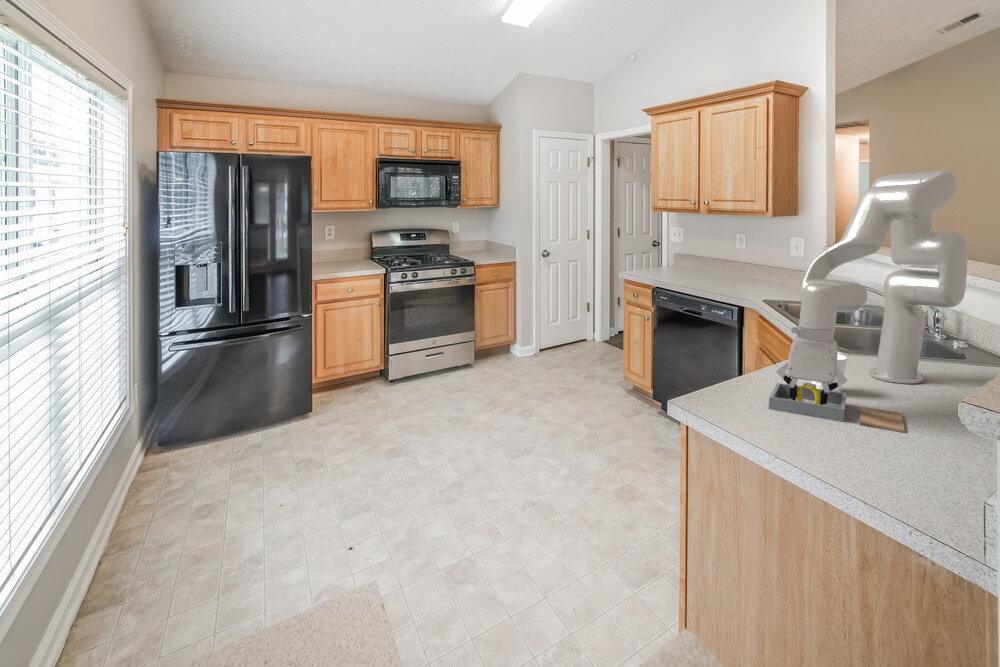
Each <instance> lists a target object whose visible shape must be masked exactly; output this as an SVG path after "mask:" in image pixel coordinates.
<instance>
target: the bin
mask: <svg viewBox="0 0 1000 667" xmlns="http://www.w3.org/2000/svg"><path fill="white" fill-rule="evenodd" d="M797 386H798V387H797V389H798V388H799V387H800V386H801V385H797ZM817 390H818V391H819V393H820V397H821V391H822V389H817ZM847 394H848V393H847V392H841V391H840V392H836V391H830V392H829V393H828V398H827V404H828V403H830V404H835V405H840V407H839V406H837V407H836V406H833V405H832V406H831V405H826V404H823V405H820V403H819V404H814V403H812V402H807V401H804V402H801V401H798V400H796V401H795V400H792V399H788V398H782V397H779V396H785V397H789V395H790V387H789V385H788V384H787V383H781V382H777V383H776V384H775V386H774V388H773V390H772V392H771V394H770V396H769V400H768V409H769V410H775V411H780V412H785V413H792V414H796V415H802V416H809V417H813V418H814V417H815V418H819V419H820V418H821V419H826V420H832V421H836V422H837V421H838V422H844V417H845V411H846V402H847ZM801 395H802V400H803V399H805V400H809V401H811V400H812V401H815V395H814V392H813V391H812V390H811V389H808V388H805V387H804V389H803V390H802V394H801ZM796 398H797V396H796Z"/></svg>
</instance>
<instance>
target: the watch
mask: <svg viewBox="0 0 1000 667" xmlns="http://www.w3.org/2000/svg"><path fill="white" fill-rule="evenodd" d="M799 386H800V387H799V388H798V389H797V395H796V396H797V397H796V401H801V402H805V401H804V400H803V398H802V395H801V394H802V390H803V389H804V387H805V388H808V389H811V390H812V391H813V392H814V395H815V400H814V403H813V404H820V398H821V397H820V393H819V391H818V390H817V388H816V385H815V384H812V382H804V383H803V384H802V385H799Z"/></svg>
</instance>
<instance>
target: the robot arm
mask: <svg viewBox="0 0 1000 667" xmlns="http://www.w3.org/2000/svg"><path fill="white" fill-rule="evenodd" d="M956 190H957V180H956V177H955V175H954V174H953V173H952V172H949V171H948V170H936V171H935V170H934V171H921V172H906V173H904V172H903V173H895V174H886V175H882V176H881V177H878V178H875V179H874V181H873V182H872V184H871V187H870V188H868V189H866V190H864V191H863V192H862V194H861V195H860V197H859V198H858V201H857V203H856V206H855V207H854V210H853V213H852V214H851V217H850V220H849V221H848V224H847V225H846V228H845V230H844V232H843V235H842V236H841V239H840V240H839V241H838V242H836V243H835V244H833V245H831V246H830V247H828V248H827V249H826V250H825V251H823V252H821V253H820V254H819V256H817V257H816V258H815V259H813V261H812V263H811V264H810V265H809V267H808V268H807V270H806V273H805V276H804V277H803V280H802V282H801V284H800V289H799V295H798V297H799V301H800V302H801V303H800V312H799V321H798V326H796V327H791V334H792V333H793V334H795V335H797V336H795V337H793V339H792V343H791V346H790V349H789V355H788V360H787V362H786V363H784V364H783V365H782V366H781V367H780V368H778V369H777V370H776V374H777V375H779V376H780V378H782V380H783V381H784V382H785V384H788V385H789V387H790V395H789V396H788V398H789V400H795V401H797V397H796V395H797V387H798V386H799V385H797V383H798V381H799V380H803V381H804V380H805V381H810V382H812V381H817V382H822V386H823V390H822V391H821V398H820V403H819V404H820V405H826V406H828V405H827V404H828V402H827V398H828V393H829V392H830V391H832V390H833V389H835V388H837V387H838V386H840V385H841V386H842V385H844V384H846V383H847V382H848V379H847V377H845V374H844V375H843V374H842V373H841V372H840V370H839V369H838V368H837V354H838V343H837V341H836V340H834V338H835V331H836V330H835V329H836V323H837V316H838V313H847V314H848V313H854V312H858V311H860V310H861V309H862V308H863V307H864V305H865V304H866V303H867V300H868V291H867V289H866V288H865V286H863V285H862V284H861V283H857V282H855V281H848V280H847V281H844V280H836V279H826V278H827V277H828V275H829V274H830V273H831V272H832V271H834V270H835V269H836V268H838V267H839V266H842V265H844V264H846V263H851V262H853V261H855V260H860V259H862V258H866V257H868V256H870V255H874V254H875V253H877V252H878V251H879V250H880V249H881V247H882V245H883V243H884V240H885V238H886V235H887V233H888V231H889V229H890V228H891V229H890V255H891V256H890V257H891V260H892V262H893V263H894V265H896V266H900V267H905V268H919V269H920V270H919V269H899V270H895V271H892V272H891V273H889V274H888V275H887V276H886V278H885V279H884V284H883V294H884V308H883V309H884V311H883V312H884V313H883V317H882V318H883V319H882V326H881V332H880V339H879V346H878V351H877V352H878V353H877V357H876V359H877V361H876V366H875V367H873V368H871V369H869V370H868V375H869V376H871V377H872V378H875V379H877V380H881V381H885V382H890V383H896V384H914V385H915V384H919V383H922V382H923V381H924V377H923V375H921V374H920V373H918V369H919V363H920V357H921V350H922V346H923V339H924V338H923V337H924V333H925V328H926V316H925V315H924V312H923V311H922V309H921V308H920V306H926V307H927V306H928V307H936V308H946V309H947V308H948V309H949V308H954V307H956V306H958V305H960V304H961V303H962V301H963V299H964V296H965V293H966V288H967V274H968V273H967V272H968V271H967V270H968V260H969V257H968V256H969V248H968V247H969V246H968V241H967V239H966V238H965V236H964V235H963V234H960V233H957V232H950V231H949V232H948V231H945V232H944V231H941V232H939V231H937V232H936V231H933V229H932V228H933V227H932V218H933V216H932V214H934V213H935V212H936V211H938V210H939V209H941V208H942V207H944V206H946V205H947V204H948V203H949V202H950V201H951V200H952V199H953V196H954V195H955V194H956ZM922 268H923V269H935V270H937V271H935V270H934V271H933V270H923V269H922ZM921 269H922V270H921ZM835 375H836V377H837V378H838V380H837V381H834V379H835ZM833 381H834V382H833ZM829 382H832V383H831V384H829Z"/></svg>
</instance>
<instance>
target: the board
mask: <svg viewBox="0 0 1000 667" xmlns="http://www.w3.org/2000/svg"><path fill="white" fill-rule="evenodd" d="M859 410H860V411H859V412H860V413H859V415H860V416H859V426H863V427H864V426H865V427H869V428H874V429H875V428H876V429H881V430H887V431H892V432H898V433H905V431H906V430H905V423H904V418H903V413H902V412H897V411H892V410H891V411H890V410H886V409H885V410H884V409H879V408H872V407H866V406H865V407H864V406H860V409H859Z"/></svg>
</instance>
